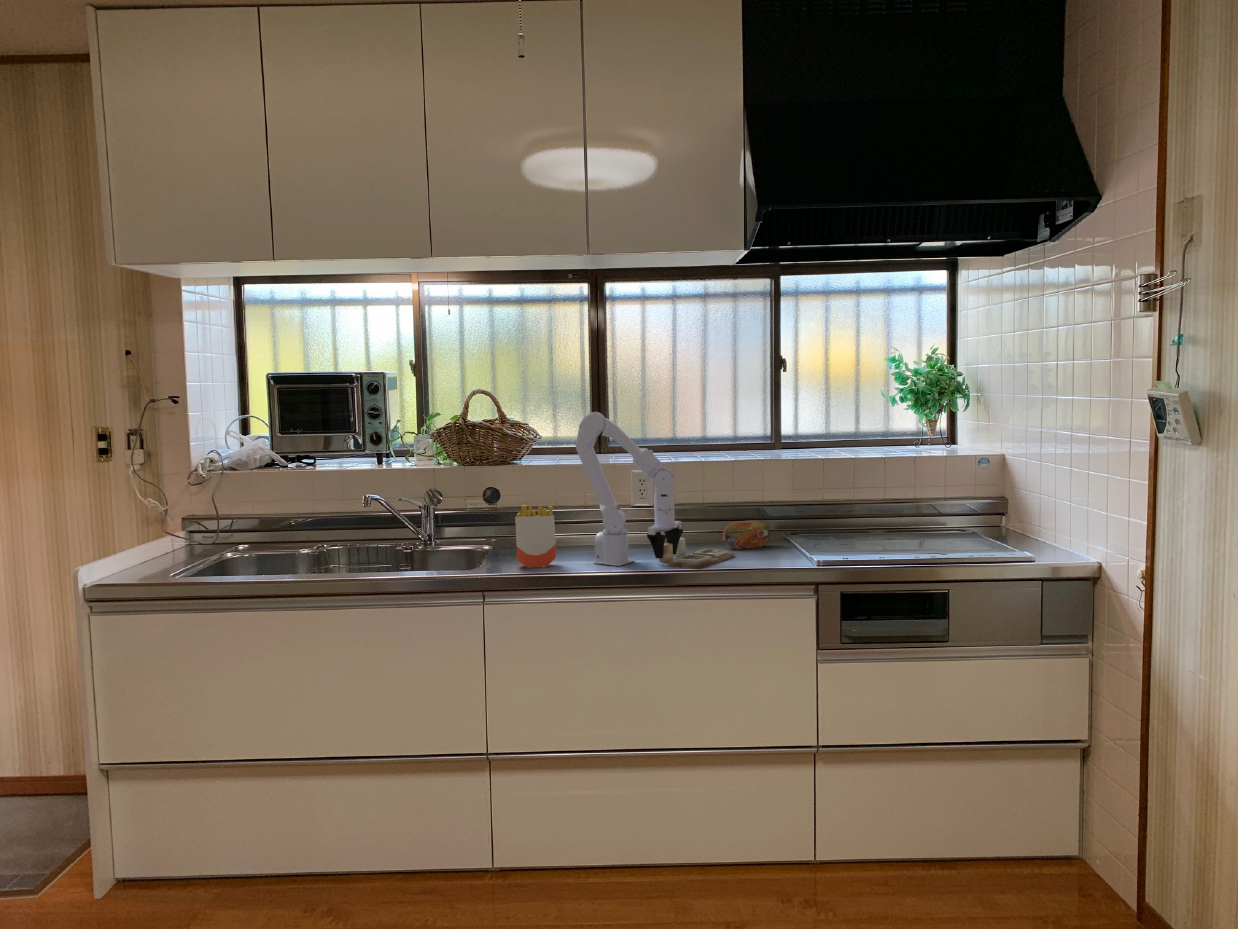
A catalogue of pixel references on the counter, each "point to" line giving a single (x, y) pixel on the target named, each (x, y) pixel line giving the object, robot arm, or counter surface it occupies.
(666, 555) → the ash peg
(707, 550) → the board
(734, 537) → the tin
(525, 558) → the french fries container
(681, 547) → the sage peg
